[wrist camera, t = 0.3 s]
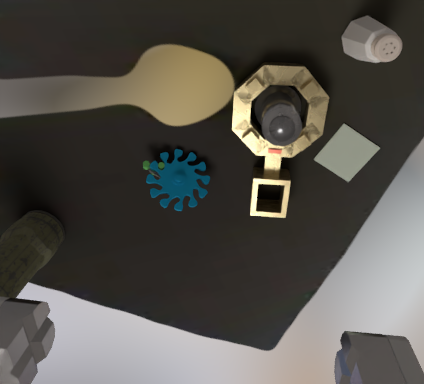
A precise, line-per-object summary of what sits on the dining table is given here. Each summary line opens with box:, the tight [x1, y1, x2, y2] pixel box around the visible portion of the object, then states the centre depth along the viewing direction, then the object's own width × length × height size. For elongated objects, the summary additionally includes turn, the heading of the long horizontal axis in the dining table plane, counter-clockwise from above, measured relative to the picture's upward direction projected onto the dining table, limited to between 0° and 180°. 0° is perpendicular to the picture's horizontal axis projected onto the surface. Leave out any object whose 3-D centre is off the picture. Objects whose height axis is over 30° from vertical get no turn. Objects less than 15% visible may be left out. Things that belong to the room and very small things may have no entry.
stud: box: [255, 85, 302, 146], centre depth 49 cm, size 7×7×10 cm
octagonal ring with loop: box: [232, 62, 329, 218], centre depth 54 cm, size 23×13×4 cm, turn 179°
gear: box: [143, 149, 210, 211], centre depth 58 cm, size 11×6×10 cm
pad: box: [314, 124, 380, 182], centre depth 55 cm, size 7×7×1 cm
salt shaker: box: [342, 15, 402, 63], centre depth 43 cm, size 5×5×11 cm
